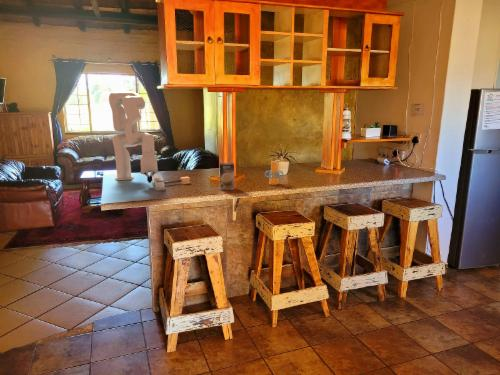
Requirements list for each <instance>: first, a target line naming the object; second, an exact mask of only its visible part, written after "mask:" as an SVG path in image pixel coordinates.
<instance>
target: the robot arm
mask: <svg viewBox="0 0 500 375" xmlns="http://www.w3.org/2000/svg"><path fill="white" fill-rule="evenodd" d="M108 102H109V106H110V108H111V113H112V122H113V123H112V124H113V125H112V126H113V129H114V131H115V132H118V133H116V134H115V135H113V136H112V144H113V149H114V155H115V156H114V157H115V167H116V176H115V177H114V179H115V180H116V181H129V180H133V179H134V178H135V177H134V176H135V175H132V165H131V156H130V151H129V150H127V148H131V147H133V148H134V147H136V146H141V154H142V155H141V156H140V174H141V175H145V177H146V178H147V179H146V180H147V182H148V184H151V183H152V182H153V175H157V174H158V173H159V170H158V169H159V168H158V160H157V154H158V152H157V151H155V136H154V134H151V133H149V132H139V127H138V122H140V121H141V119H142V116H141V113H140V110H144V108H145V107H146V101H145V99H144V98H143V97H142V96H141V95H140V94H139V93H136V92H134V91H112V92H110V93H109V95H108ZM119 132H124V133H119ZM149 173H150V175H149Z"/></svg>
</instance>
